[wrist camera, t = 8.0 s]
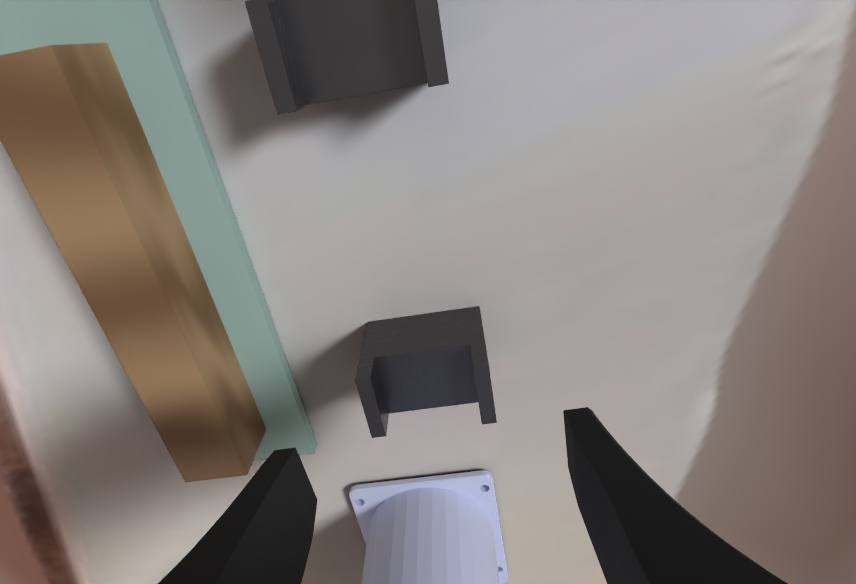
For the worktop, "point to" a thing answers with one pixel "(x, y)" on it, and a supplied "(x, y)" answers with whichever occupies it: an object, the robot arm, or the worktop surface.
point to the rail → (128, 250)
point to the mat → (180, 183)
